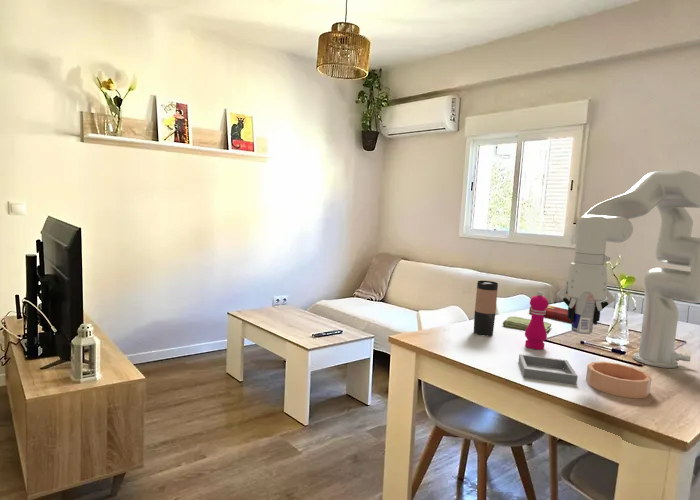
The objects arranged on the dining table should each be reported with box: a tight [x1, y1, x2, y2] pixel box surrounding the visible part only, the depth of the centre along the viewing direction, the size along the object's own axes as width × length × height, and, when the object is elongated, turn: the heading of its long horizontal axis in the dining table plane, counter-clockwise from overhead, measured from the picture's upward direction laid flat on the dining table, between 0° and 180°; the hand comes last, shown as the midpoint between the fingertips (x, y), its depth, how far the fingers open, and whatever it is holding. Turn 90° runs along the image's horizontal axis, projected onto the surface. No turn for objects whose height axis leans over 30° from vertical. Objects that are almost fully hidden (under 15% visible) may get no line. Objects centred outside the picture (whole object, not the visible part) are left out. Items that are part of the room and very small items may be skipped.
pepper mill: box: [524, 290, 549, 350], centre depth 162 cm, size 7×7×20 cm
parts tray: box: [518, 353, 578, 385], centre depth 137 cm, size 14×14×2 cm
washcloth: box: [502, 316, 552, 333], centre depth 192 cm, size 13×18×3 cm
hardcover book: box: [528, 304, 572, 324], centre depth 214 cm, size 12×21×4 cm, turn 41°
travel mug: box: [473, 280, 499, 337], centre depth 176 cm, size 8×8×20 cm
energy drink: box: [571, 292, 595, 335], centre depth 132 cm, size 5×5×12 cm
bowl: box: [585, 361, 652, 399], centre depth 129 cm, size 15×15×4 cm
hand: (582, 321), depth 132 cm, fingers closed on energy drink, 5 cm apart
